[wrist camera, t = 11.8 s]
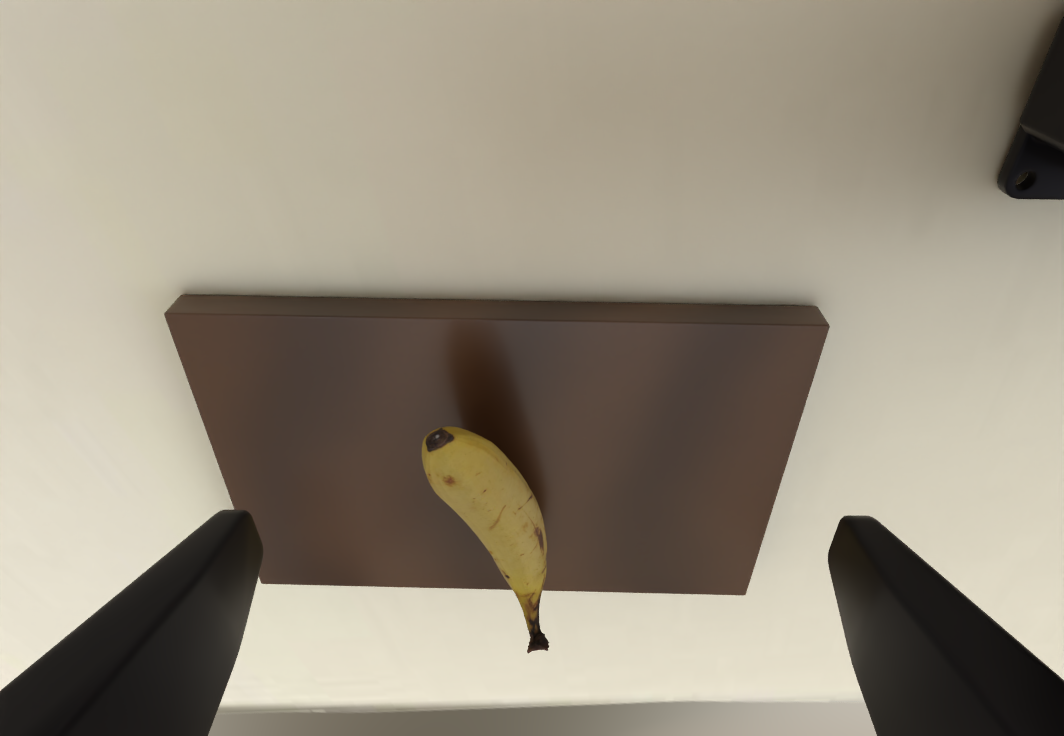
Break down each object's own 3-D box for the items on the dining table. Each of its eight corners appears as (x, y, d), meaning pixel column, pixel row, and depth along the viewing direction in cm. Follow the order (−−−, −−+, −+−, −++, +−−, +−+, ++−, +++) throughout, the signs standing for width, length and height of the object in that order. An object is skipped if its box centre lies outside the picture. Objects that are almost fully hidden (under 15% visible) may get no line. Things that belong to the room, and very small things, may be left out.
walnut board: (817, 305, 21) (830, 325, 20) (739, 571, 28) (745, 595, 27) (180, 293, 21) (162, 313, 20) (270, 560, 28) (260, 584, 27)
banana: (417, 369, 21) (392, 456, 18) (489, 353, 21) (477, 439, 17) (510, 568, 27) (504, 662, 23) (568, 558, 26) (571, 653, 23)
